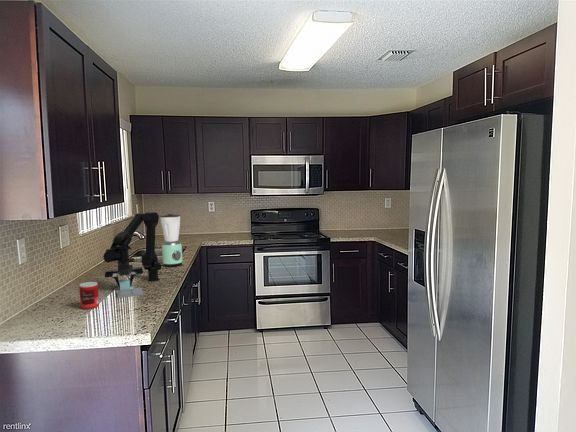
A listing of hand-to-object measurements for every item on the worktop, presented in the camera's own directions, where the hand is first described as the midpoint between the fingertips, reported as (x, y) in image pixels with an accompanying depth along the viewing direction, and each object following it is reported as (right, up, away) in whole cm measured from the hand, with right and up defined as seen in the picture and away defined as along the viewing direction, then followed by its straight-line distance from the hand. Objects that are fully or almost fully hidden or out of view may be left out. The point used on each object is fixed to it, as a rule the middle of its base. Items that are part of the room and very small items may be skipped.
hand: (124, 287), depth 218 cm
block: (0, -1, 0) cm, 1 cm away
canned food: (-5, -4, -29) cm, 30 cm away
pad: (+6, -2, -8) cm, 10 cm away
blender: (+8, +4, +61) cm, 61 cm away
